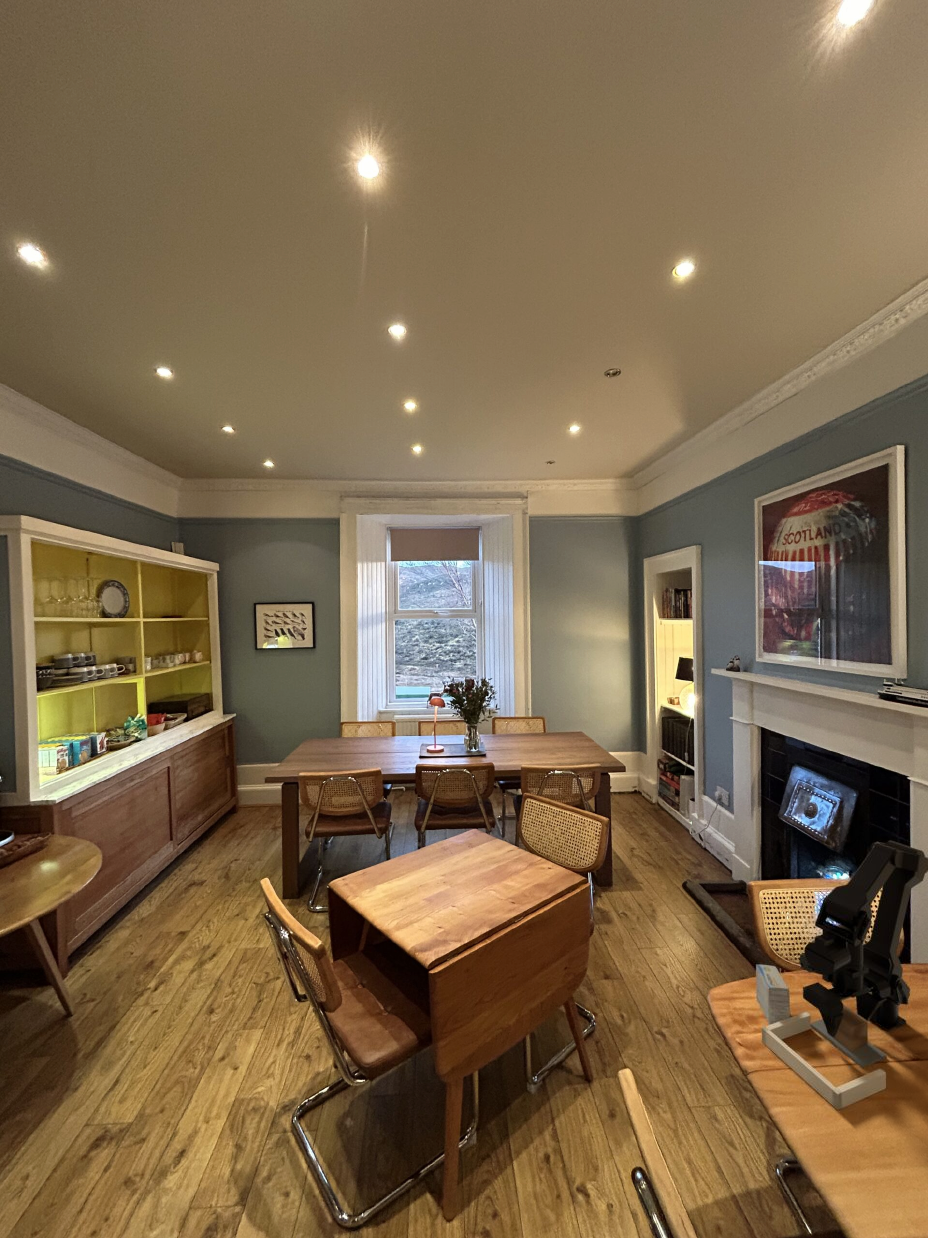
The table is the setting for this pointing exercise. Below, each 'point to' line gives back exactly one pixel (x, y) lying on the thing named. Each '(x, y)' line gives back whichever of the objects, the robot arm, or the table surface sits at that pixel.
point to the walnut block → (852, 1030)
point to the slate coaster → (860, 1055)
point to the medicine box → (772, 994)
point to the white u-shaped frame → (833, 1095)
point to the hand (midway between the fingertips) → (846, 1030)
